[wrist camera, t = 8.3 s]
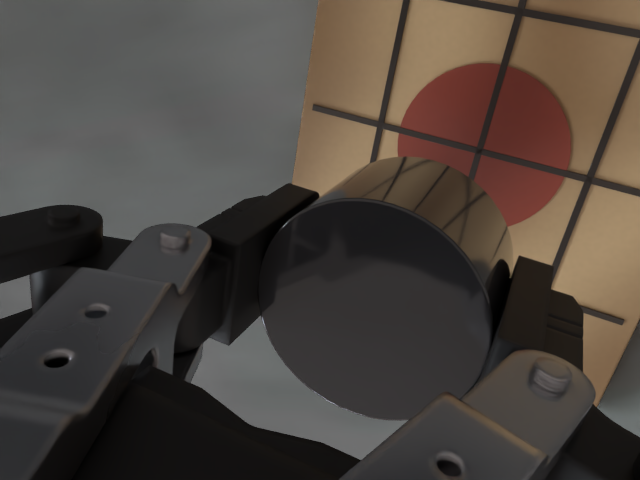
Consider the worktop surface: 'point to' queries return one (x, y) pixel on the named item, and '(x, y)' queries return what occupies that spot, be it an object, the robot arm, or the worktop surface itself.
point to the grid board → (499, 128)
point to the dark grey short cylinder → (388, 287)
